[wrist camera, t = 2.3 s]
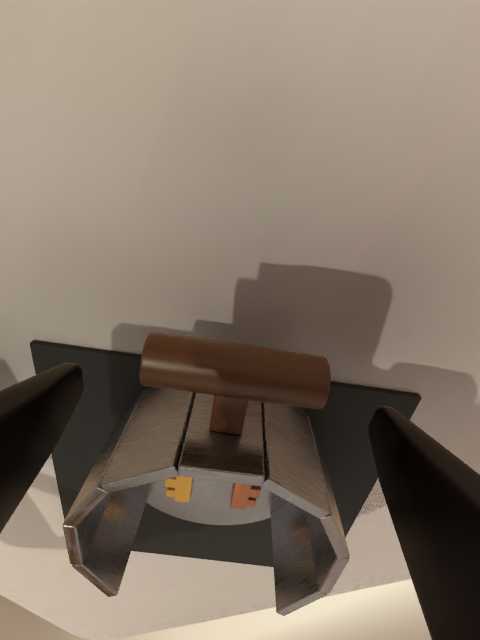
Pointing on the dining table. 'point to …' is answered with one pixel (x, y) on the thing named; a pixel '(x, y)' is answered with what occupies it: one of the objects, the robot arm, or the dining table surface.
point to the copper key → (244, 496)
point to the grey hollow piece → (217, 462)
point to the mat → (196, 538)
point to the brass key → (179, 488)
